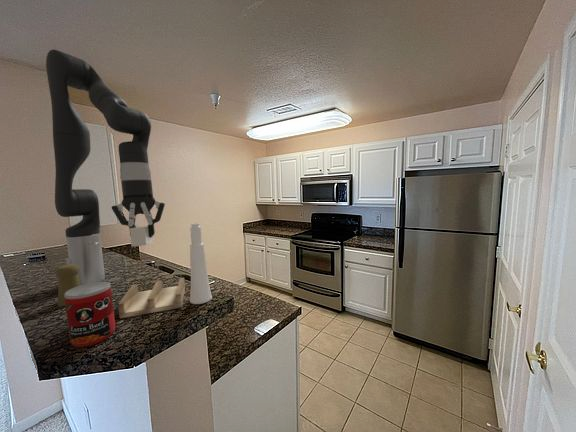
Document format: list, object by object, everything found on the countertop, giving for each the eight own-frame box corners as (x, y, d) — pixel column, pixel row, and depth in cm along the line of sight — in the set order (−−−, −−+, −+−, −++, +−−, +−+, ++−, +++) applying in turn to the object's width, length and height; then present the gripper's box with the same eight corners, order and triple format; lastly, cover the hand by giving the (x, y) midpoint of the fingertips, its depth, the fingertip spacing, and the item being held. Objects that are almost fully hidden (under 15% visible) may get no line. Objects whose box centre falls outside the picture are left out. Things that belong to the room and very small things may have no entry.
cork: (83, 295, 76) (79, 261, 75) (86, 301, 72) (81, 264, 71) (57, 302, 72) (52, 265, 71) (58, 308, 68) (52, 269, 67)
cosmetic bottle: (201, 293, 74) (196, 221, 72) (216, 297, 71) (211, 222, 69) (185, 302, 69) (178, 224, 67) (200, 306, 66) (193, 225, 64)
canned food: (64, 352, 48) (56, 299, 47) (79, 332, 55) (73, 285, 54) (110, 341, 51) (104, 291, 50) (119, 323, 58) (114, 279, 57)
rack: (119, 318, 61) (118, 304, 60) (133, 296, 74) (132, 284, 74) (182, 307, 66) (180, 294, 65) (185, 288, 79) (184, 277, 78)
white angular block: (131, 246, 66) (129, 228, 66) (141, 242, 78) (139, 226, 77) (146, 245, 67) (144, 227, 67) (153, 241, 79) (152, 225, 79)
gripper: (165, 179, 77) (170, 233, 79) (111, 181, 72) (118, 238, 74) (161, 177, 70) (168, 237, 72) (102, 179, 65) (110, 243, 67)
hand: (143, 237), depth 73 cm, fingers closed on white angular block, 3 cm apart
